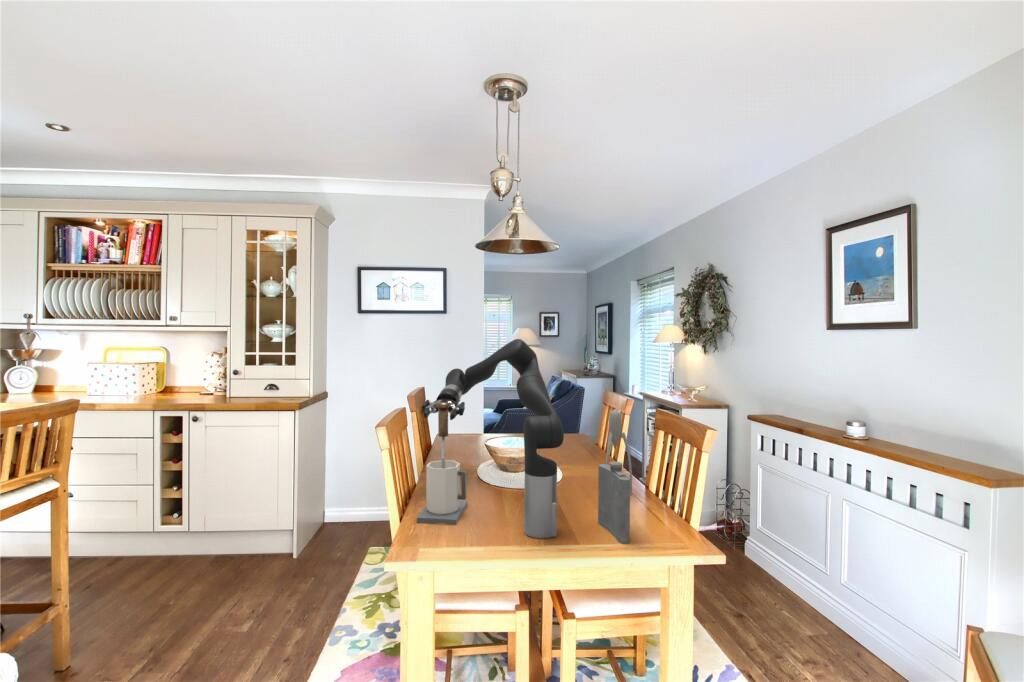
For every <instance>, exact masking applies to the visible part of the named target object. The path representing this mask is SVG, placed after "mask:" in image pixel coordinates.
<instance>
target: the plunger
mask: <svg viewBox="0 0 1024 682" xmlns="http://www.w3.org/2000/svg"><path fill="white" fill-rule="evenodd" d="M436 407H437V408H438V412H437V415H438V416H437V418H438V419H437V420H438V425H437V427H438V430H437V432H438V433H437V434H438V437H439V438H441V460H442V469H445V460H446V437H448V436H449V412H448V408H449V407H450V402H437V403H436Z"/></svg>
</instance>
